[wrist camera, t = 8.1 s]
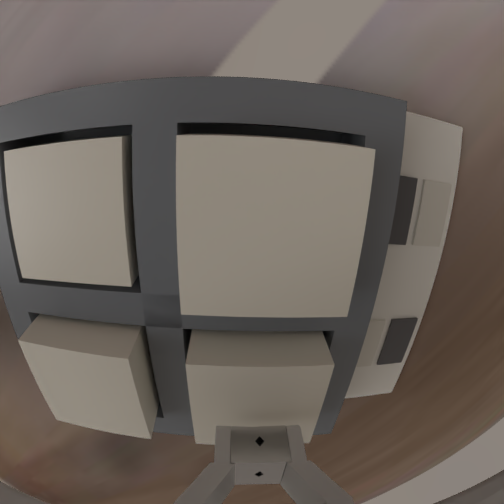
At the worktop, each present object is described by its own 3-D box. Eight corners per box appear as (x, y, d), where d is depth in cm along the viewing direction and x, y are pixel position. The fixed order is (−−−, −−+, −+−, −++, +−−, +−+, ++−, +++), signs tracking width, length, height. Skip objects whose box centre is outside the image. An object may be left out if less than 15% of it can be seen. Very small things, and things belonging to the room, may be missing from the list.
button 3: (43, 309, 12) (18, 340, 9) (144, 320, 12) (128, 359, 10) (72, 387, 13) (56, 419, 11) (159, 401, 14) (151, 439, 11)
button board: (19, 111, 10) (-23, 113, 7) (456, 126, 11) (498, 132, 9) (69, 377, 16) (52, 411, 13) (388, 386, 17) (405, 421, 14)
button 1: (193, 323, 12) (185, 364, 10) (319, 325, 12) (334, 364, 10) (199, 404, 14) (195, 443, 12) (301, 404, 14) (309, 442, 12)
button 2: (190, 133, 9) (176, 135, 7) (346, 143, 10) (375, 149, 7) (191, 277, 11) (180, 314, 9) (328, 280, 11) (346, 316, 9)
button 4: (38, 144, 10) (3, 151, 8) (144, 134, 11) (121, 136, 8) (49, 254, 12) (22, 277, 10) (148, 258, 12) (131, 286, 10)
